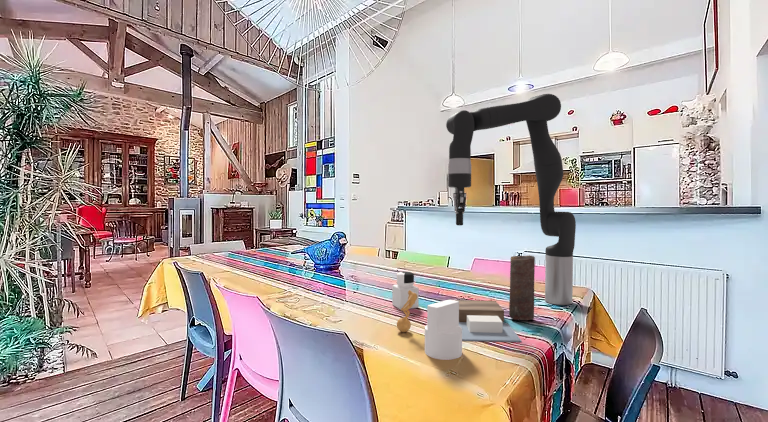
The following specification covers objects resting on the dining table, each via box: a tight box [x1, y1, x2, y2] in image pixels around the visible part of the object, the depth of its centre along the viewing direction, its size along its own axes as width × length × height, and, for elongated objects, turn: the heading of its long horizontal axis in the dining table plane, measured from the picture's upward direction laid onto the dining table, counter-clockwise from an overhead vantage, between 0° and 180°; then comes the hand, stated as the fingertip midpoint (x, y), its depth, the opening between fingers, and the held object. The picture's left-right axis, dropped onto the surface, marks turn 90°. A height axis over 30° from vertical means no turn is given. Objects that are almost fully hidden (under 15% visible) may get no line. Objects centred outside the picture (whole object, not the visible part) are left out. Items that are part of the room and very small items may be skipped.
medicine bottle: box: [391, 271, 420, 311], centre depth 139 cm, size 7×7×12 cm
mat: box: [459, 322, 522, 343], centre depth 111 cm, size 15×16×1 cm
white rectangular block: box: [467, 315, 503, 333], centre depth 113 cm, size 6×9×3 cm, turn 86°
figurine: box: [396, 290, 417, 333], centre depth 111 cm, size 8×6×12 cm
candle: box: [508, 255, 536, 321], centre depth 122 cm, size 8×7×20 cm
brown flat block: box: [454, 299, 505, 323], centre depth 125 cm, size 12×14×4 cm
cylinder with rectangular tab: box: [424, 299, 463, 361], centre depth 96 cm, size 9×9×12 cm
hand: (459, 225), depth 131 cm, fingers closed
